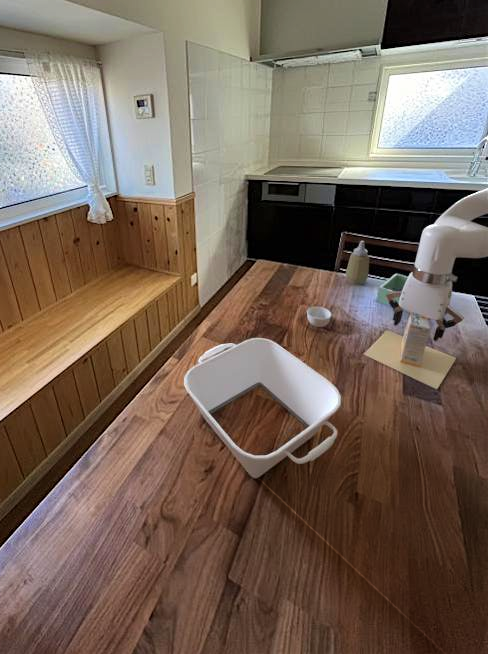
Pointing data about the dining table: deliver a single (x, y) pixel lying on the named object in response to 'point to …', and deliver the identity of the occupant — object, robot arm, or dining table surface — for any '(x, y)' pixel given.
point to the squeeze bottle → (358, 266)
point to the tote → (387, 287)
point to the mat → (390, 355)
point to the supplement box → (414, 339)
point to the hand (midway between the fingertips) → (415, 330)
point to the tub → (278, 380)
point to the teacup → (318, 316)
